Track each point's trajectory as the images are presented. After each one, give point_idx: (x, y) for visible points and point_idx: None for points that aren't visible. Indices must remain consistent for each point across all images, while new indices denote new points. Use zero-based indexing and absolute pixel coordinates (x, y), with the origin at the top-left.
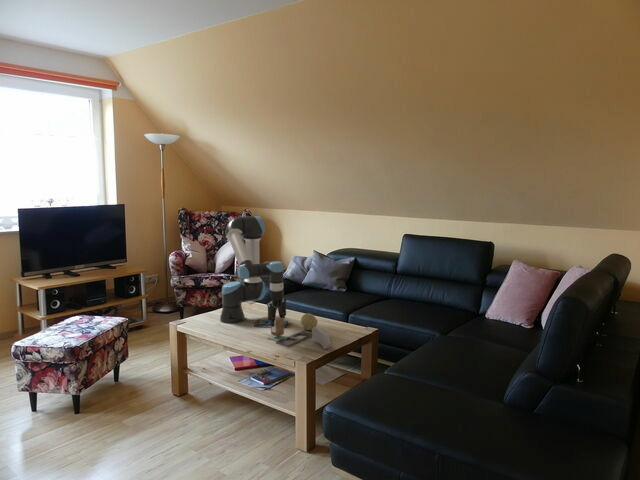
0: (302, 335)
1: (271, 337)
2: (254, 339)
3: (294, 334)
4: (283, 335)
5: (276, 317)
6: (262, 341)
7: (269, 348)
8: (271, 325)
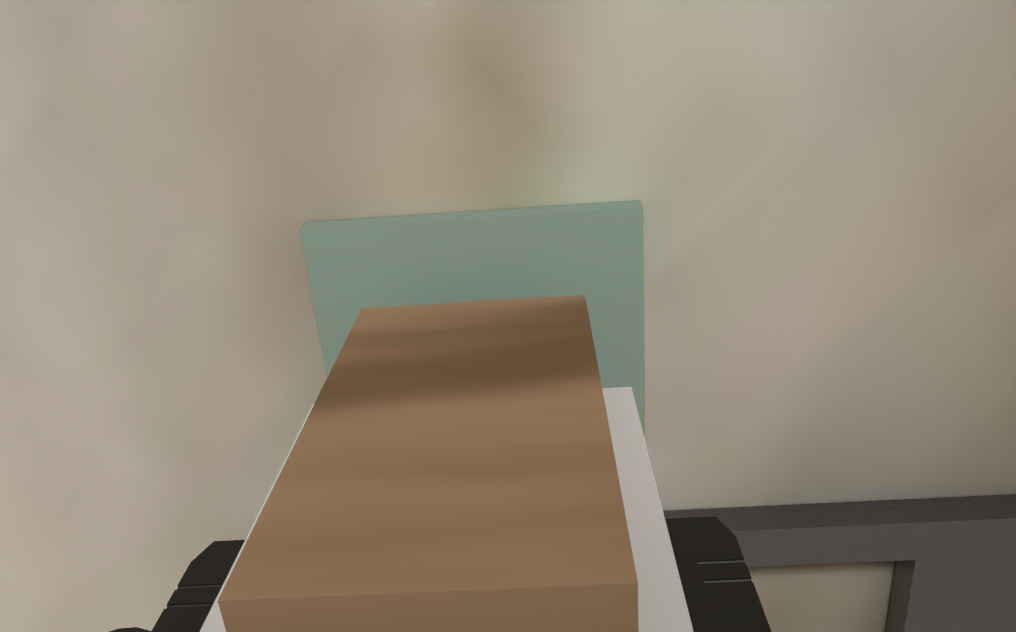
0: (889, 607)
1: (369, 297)
2: (37, 23)
3: (792, 548)
4: (637, 399)
5: (568, 613)
6: (119, 270)
7: (31, 600)
8: (194, 583)
